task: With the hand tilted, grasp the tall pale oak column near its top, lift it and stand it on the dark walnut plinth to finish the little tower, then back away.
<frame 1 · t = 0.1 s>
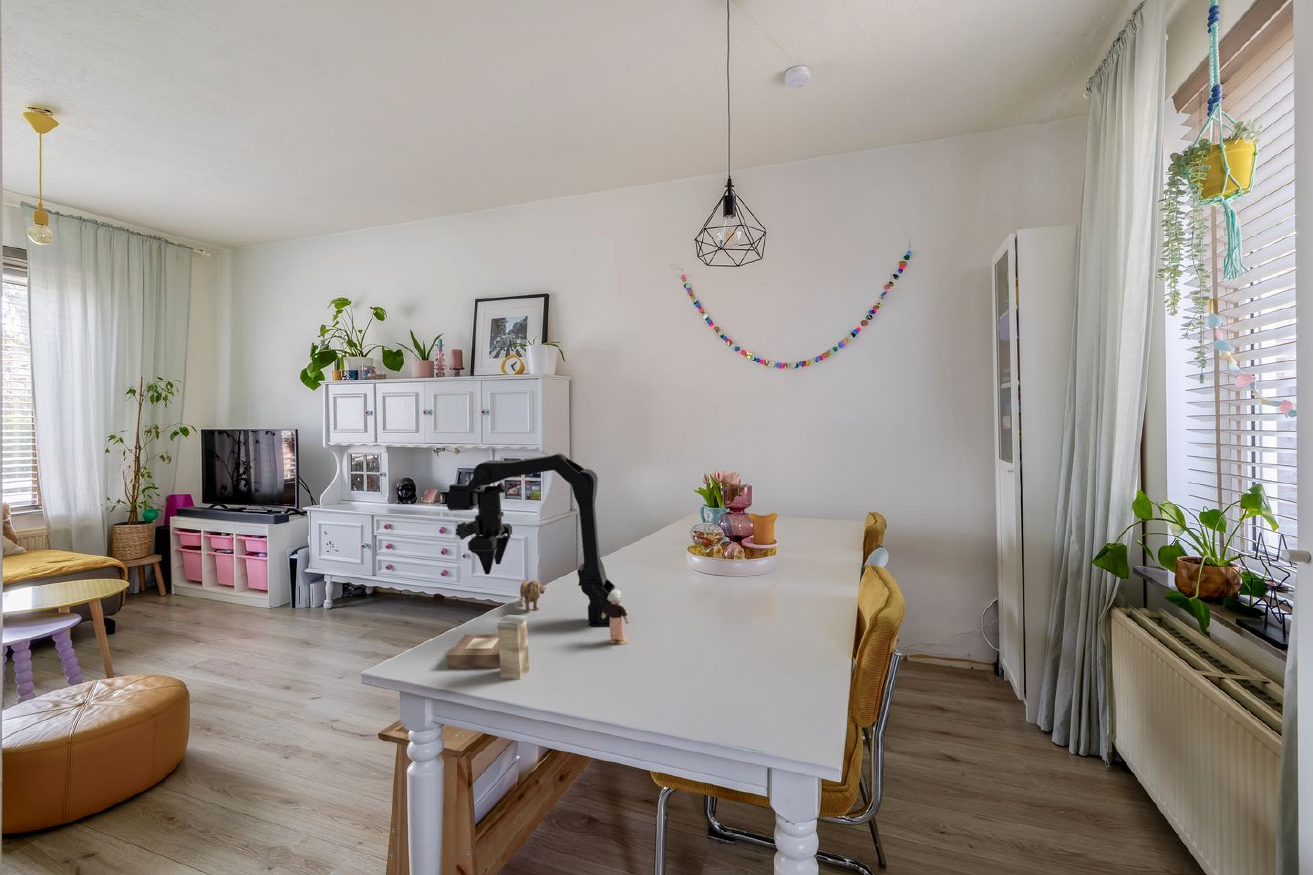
hand: (492, 569, 171), 15 cm above the table, tool pointing down, fingers open, 9 cm apart
grandmother figurine: (616, 642, 158), on the table
plinth: (483, 656, 151), on the table
lion figurine: (531, 608, 184), on the table
oak column: (515, 673, 142), on the table
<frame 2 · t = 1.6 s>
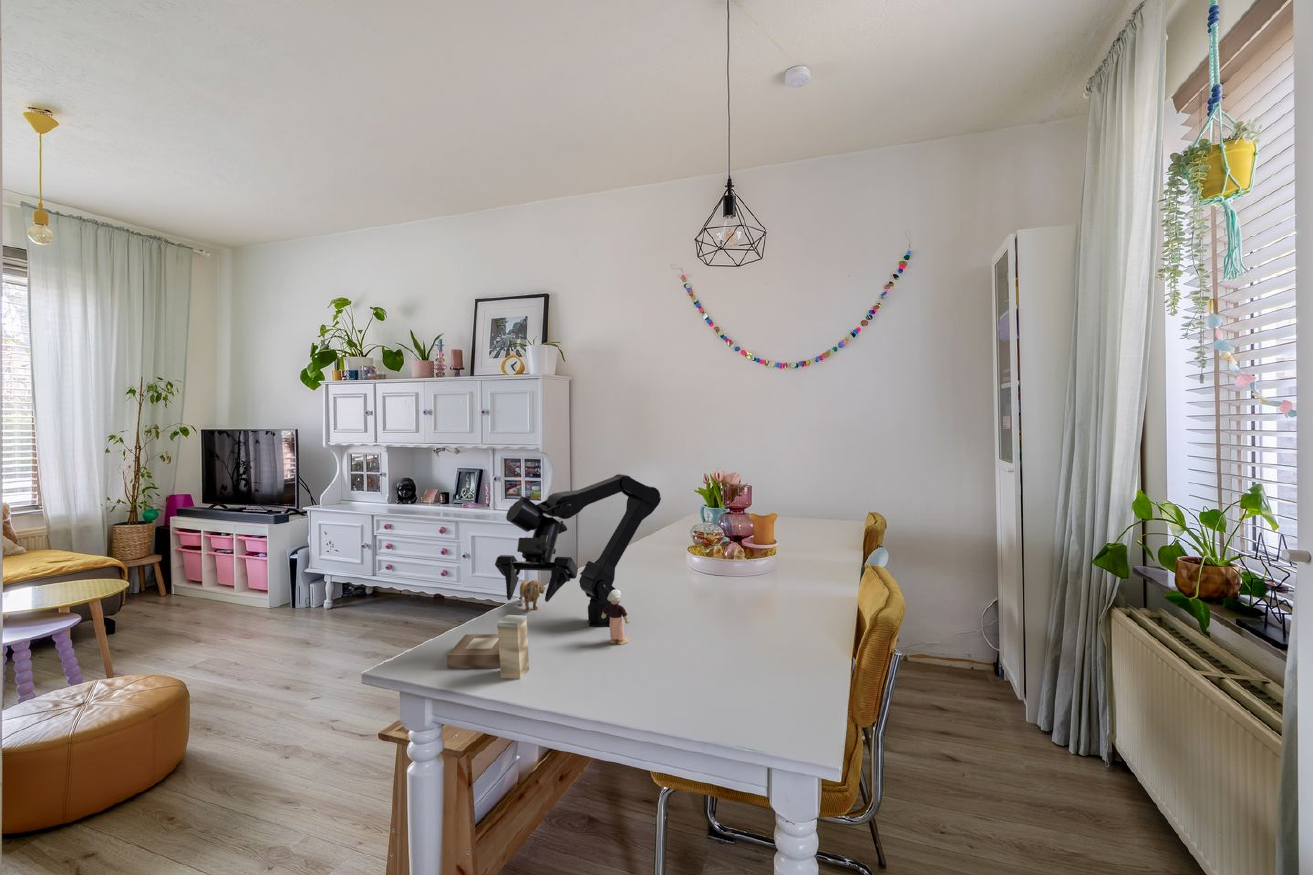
hand: (527, 600, 149), 13 cm above the table, tool tilted 45°, fingers open, 9 cm apart
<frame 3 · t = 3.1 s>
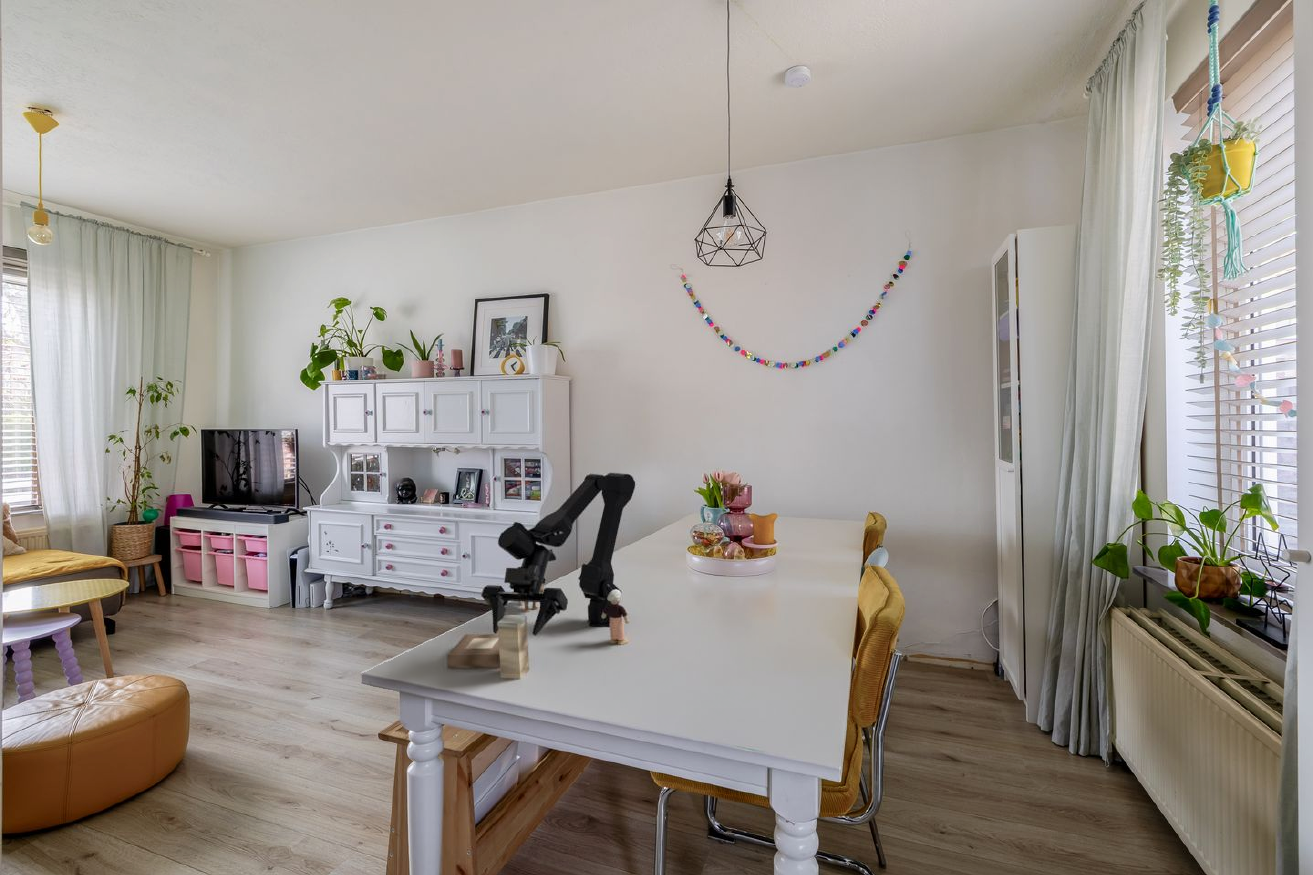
hand: (514, 633, 142), 8 cm above the table, tool tilted 45°, fingers open, 9 cm apart
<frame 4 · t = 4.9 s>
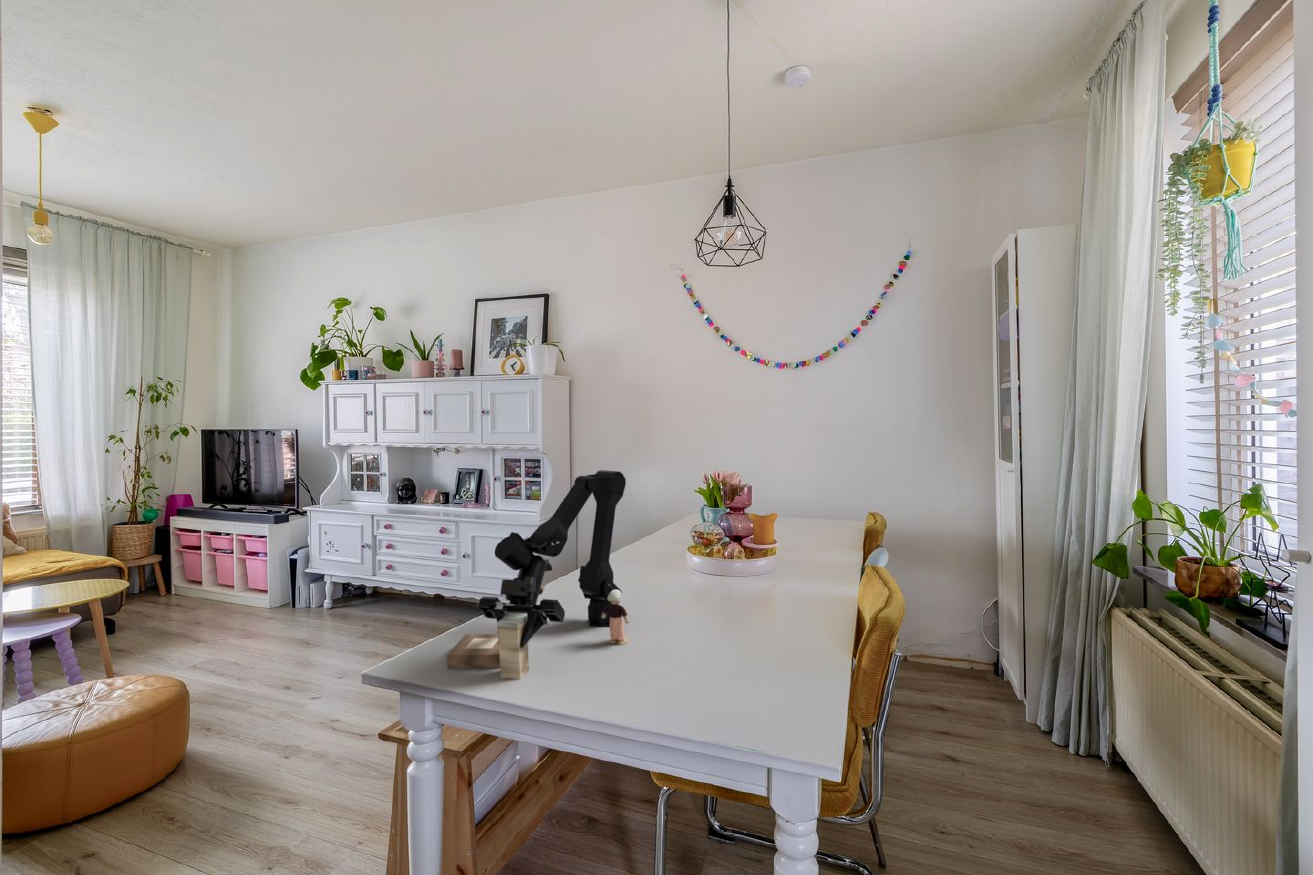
hand: (510, 646, 140), 7 cm above the table, tool tilted 45°, fingers closed on oak column, 4 cm apart
oak column: (515, 673, 142), on the table, touching gripper
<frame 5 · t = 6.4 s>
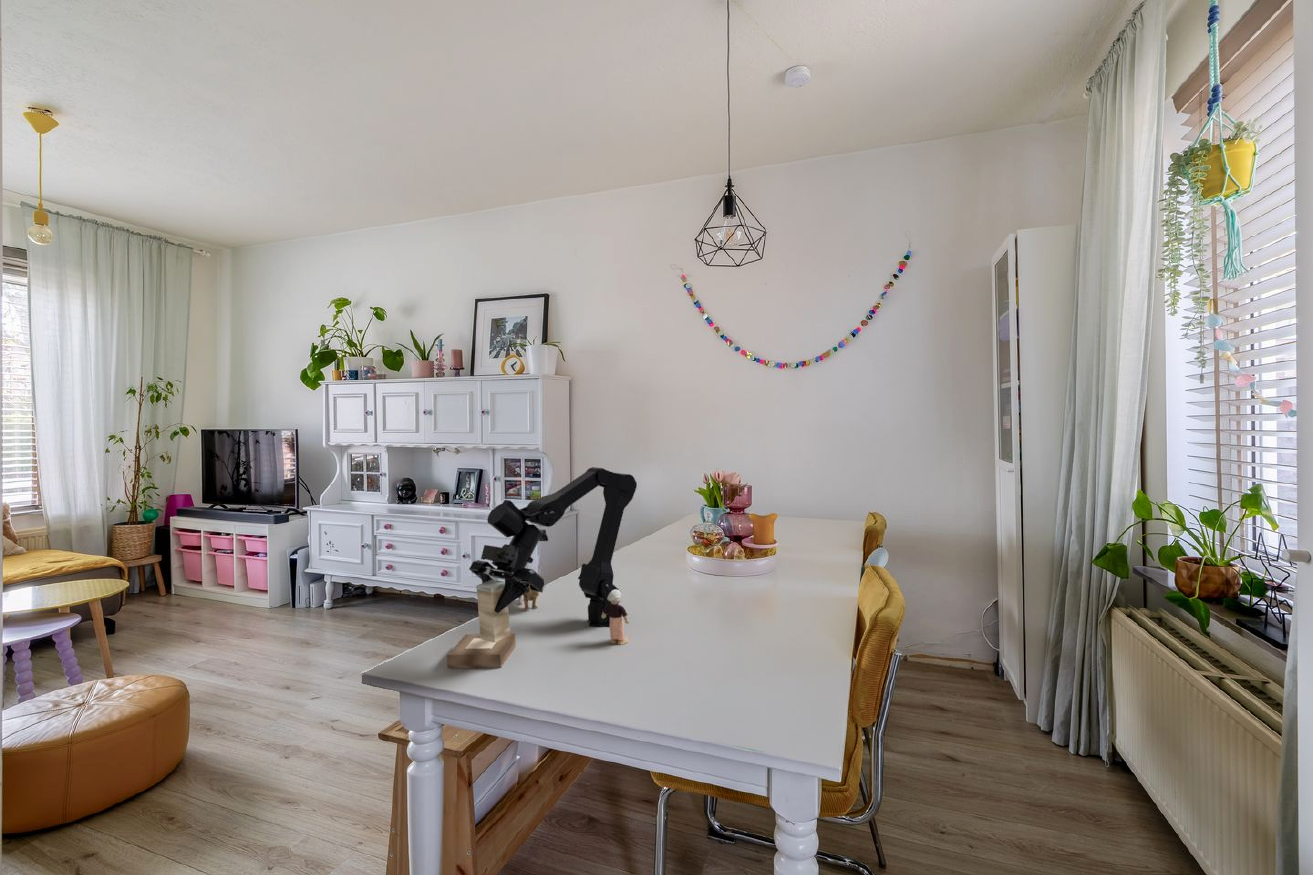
hand: (488, 610, 144), 13 cm above the table, tool tilted 45°, fingers closed on oak column, 4 cm apart
oak column: (495, 637, 146), point 7 cm above the table, touching gripper
when the fingers open (10 cm above the table, at t = 8.2 s): oak column stays where it is, resting on plinth.
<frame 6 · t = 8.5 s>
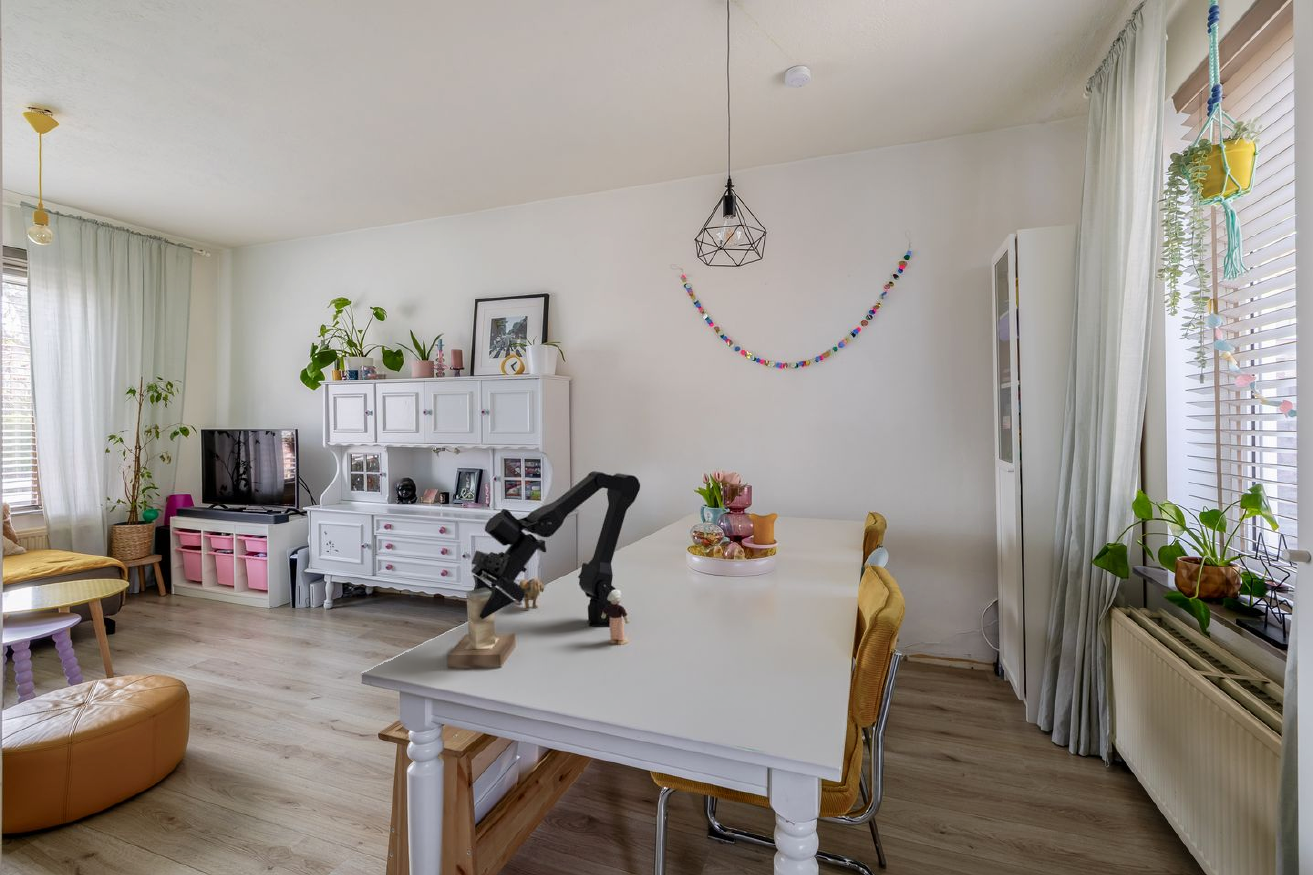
hand: (474, 613, 150), 11 cm above the table, tool tilted 45°, fingers open, 7 cm apart
oak column: (482, 643, 151), point 3 cm above the table, touching plinth
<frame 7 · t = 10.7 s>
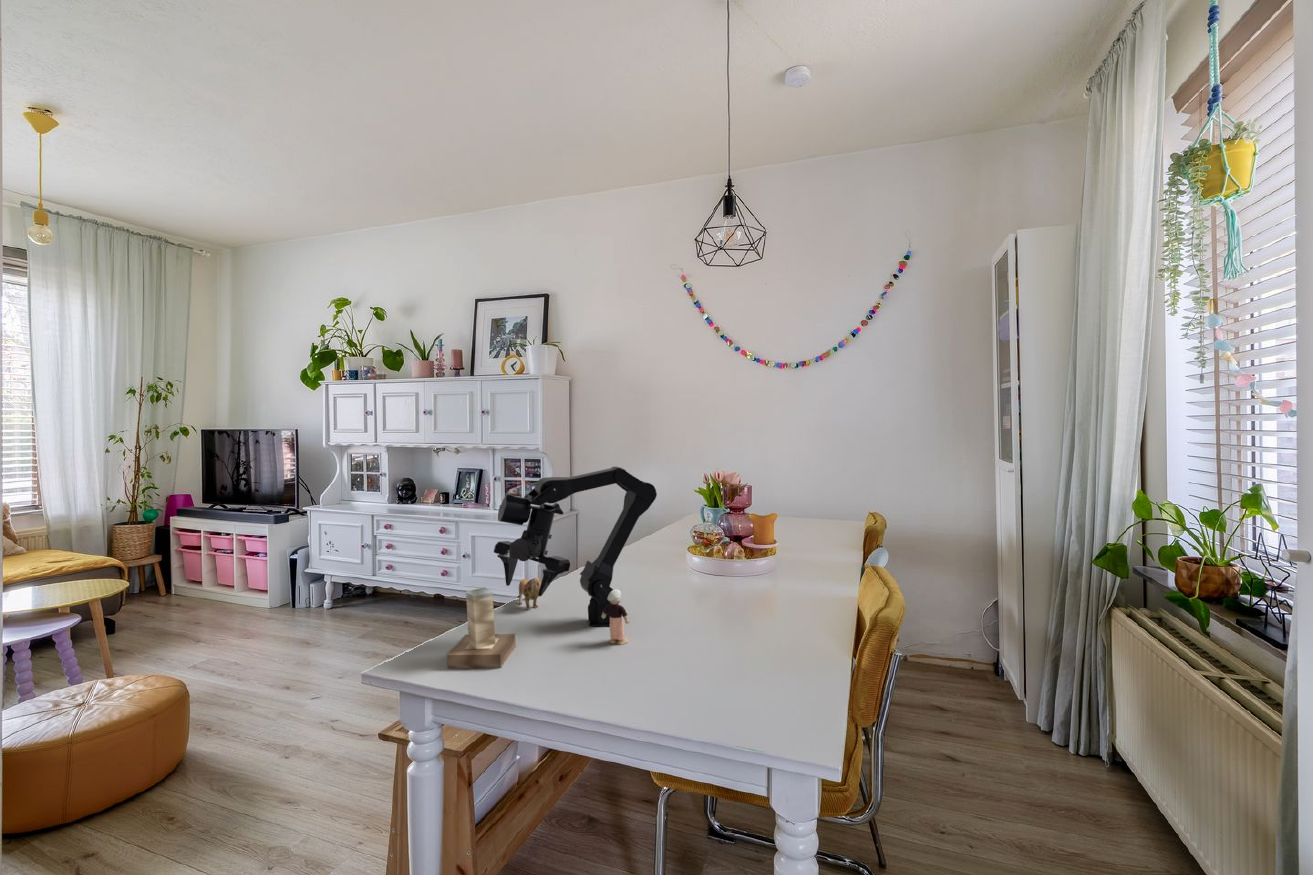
hand: (523, 590, 161), 12 cm above the table, tool tilted 15°, fingers open, 9 cm apart
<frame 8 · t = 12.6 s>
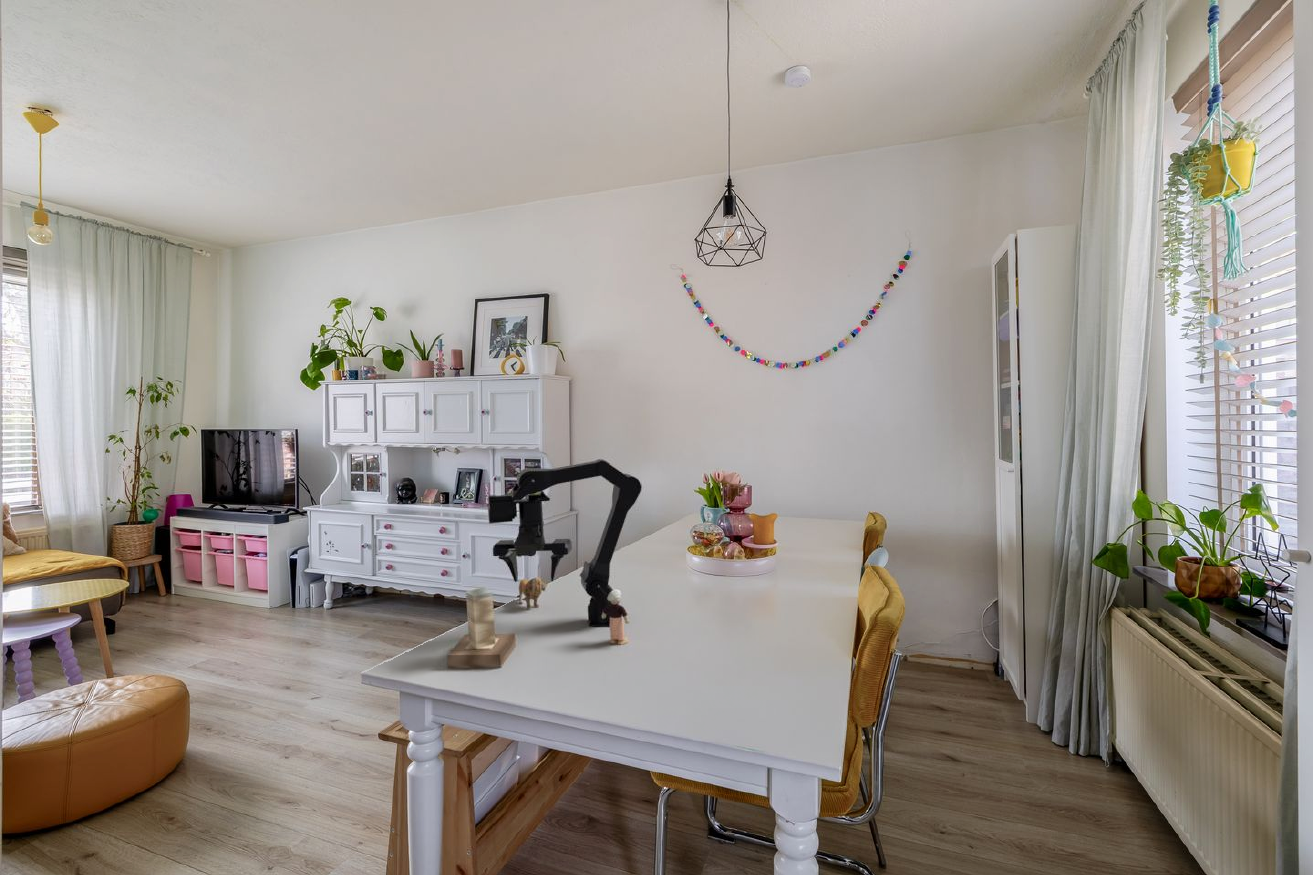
hand: (534, 581, 165), 13 cm above the table, tool pointing down, fingers open, 9 cm apart
at the end: oak column inside the target area on the plinth (0.0 cm from its centre), point 3.2 cm above the plinth's base; oak column tilted 0°; the gripper is holding nothing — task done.
